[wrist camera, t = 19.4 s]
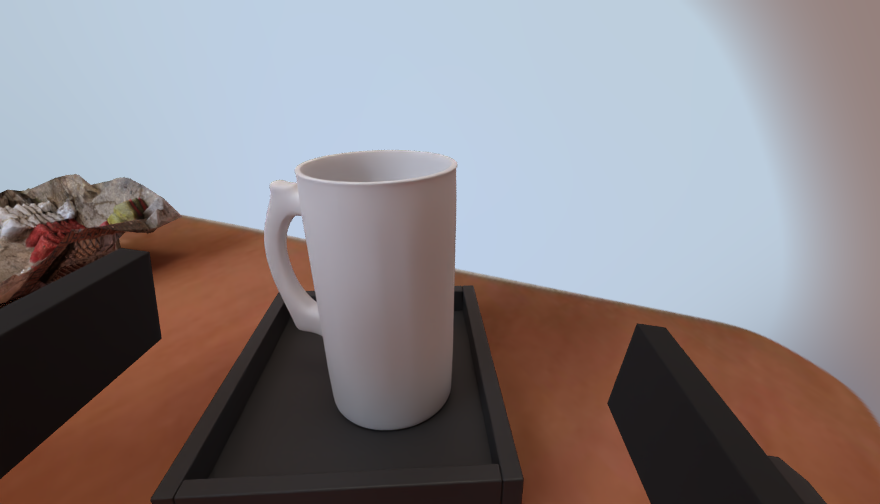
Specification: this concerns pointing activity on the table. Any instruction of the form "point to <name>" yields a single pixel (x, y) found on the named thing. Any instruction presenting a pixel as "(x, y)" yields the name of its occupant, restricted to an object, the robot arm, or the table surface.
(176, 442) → the table surface
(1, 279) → the paper
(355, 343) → the mug
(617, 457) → the table surface
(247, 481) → the tray
